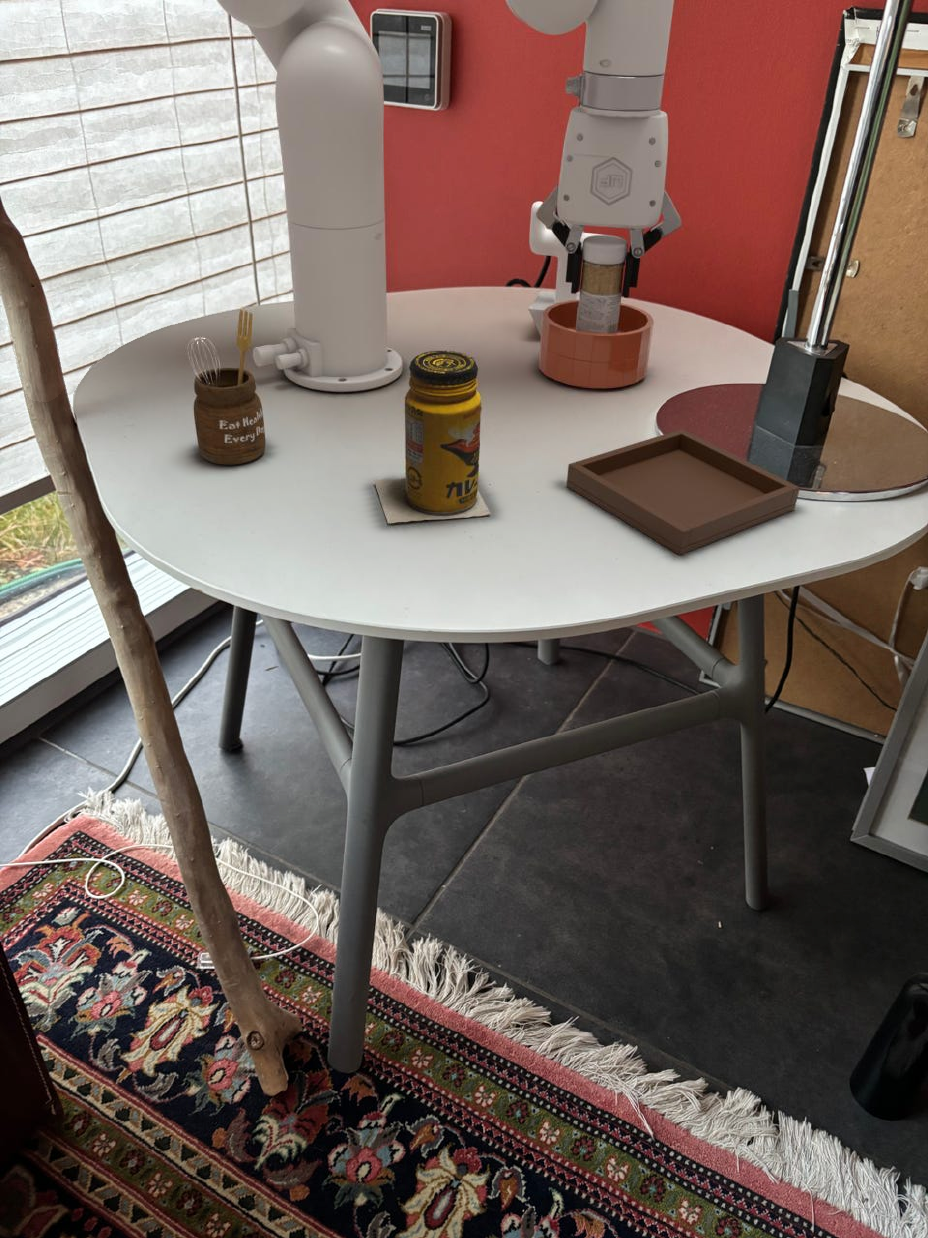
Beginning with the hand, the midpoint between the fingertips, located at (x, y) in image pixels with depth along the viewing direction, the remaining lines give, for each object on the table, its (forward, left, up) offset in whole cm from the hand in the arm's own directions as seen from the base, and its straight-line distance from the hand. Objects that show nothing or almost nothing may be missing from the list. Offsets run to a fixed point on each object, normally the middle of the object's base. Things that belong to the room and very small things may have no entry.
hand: (600, 289), depth 101 cm
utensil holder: (-41, +2, -9) cm, 42 cm away
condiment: (-31, -15, -9) cm, 36 cm away
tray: (-13, -26, -9) cm, 30 cm away
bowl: (0, 0, -9) cm, 9 cm away
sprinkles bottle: (0, 0, -9) cm, 9 cm away
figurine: (+5, +11, -9) cm, 15 cm away
